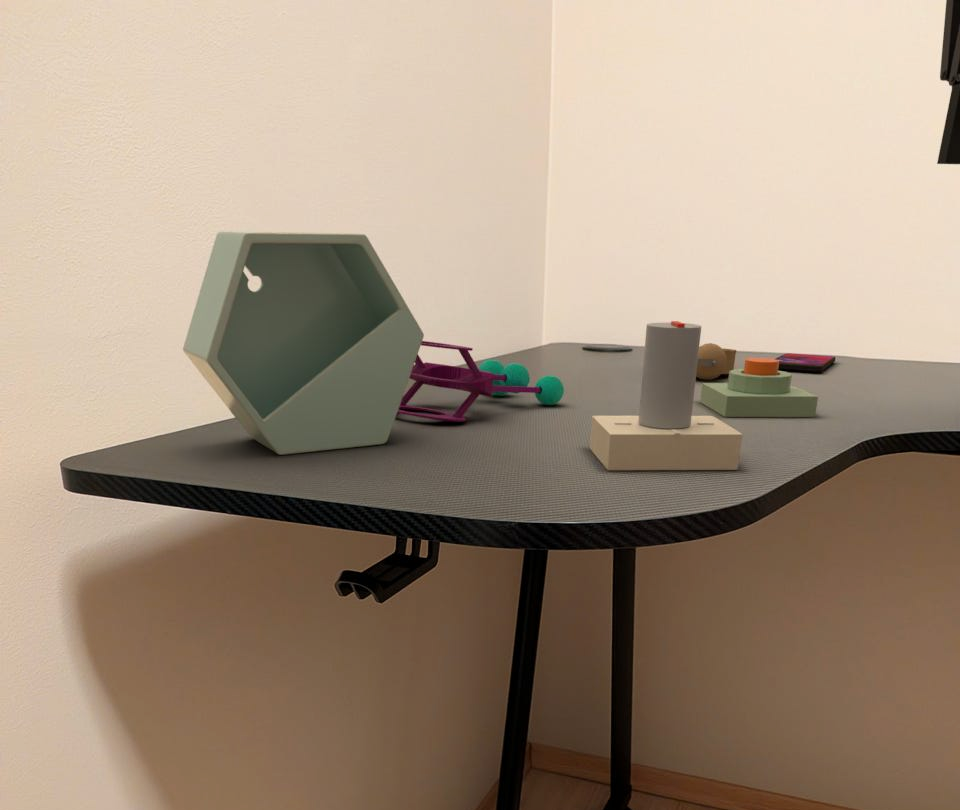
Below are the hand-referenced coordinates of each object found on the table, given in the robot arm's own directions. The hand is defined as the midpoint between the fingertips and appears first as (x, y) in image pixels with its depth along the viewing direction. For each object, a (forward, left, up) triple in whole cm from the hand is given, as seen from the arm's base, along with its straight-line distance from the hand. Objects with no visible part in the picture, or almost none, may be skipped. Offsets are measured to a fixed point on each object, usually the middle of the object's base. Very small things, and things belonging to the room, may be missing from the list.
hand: (954, 163), depth 87 cm
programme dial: (+31, +18, -21) cm, 42 cm away
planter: (+62, +11, -25) cm, 67 cm away
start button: (+14, -6, -21) cm, 26 cm away
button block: (+14, -6, -24) cm, 29 cm away
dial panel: (+31, +18, -24) cm, 43 cm away
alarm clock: (+14, -32, -25) cm, 43 cm away
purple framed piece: (+46, -6, -25) cm, 53 cm away
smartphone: (-6, -42, -24) cm, 49 cm away
